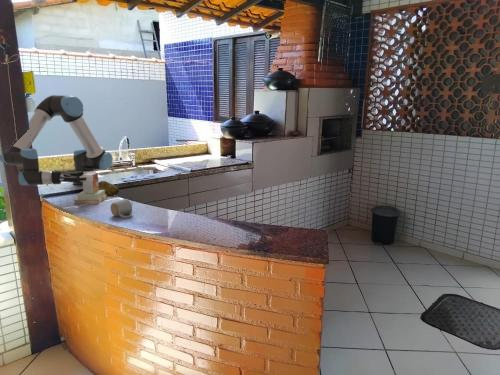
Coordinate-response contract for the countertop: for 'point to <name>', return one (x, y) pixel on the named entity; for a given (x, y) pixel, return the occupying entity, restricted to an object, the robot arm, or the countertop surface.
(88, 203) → the birch base slab
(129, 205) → the ceramic mug
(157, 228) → the countertop surface
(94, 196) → the sage top slab
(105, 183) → the potato
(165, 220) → the countertop surface
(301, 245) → the countertop surface
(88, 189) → the small box
